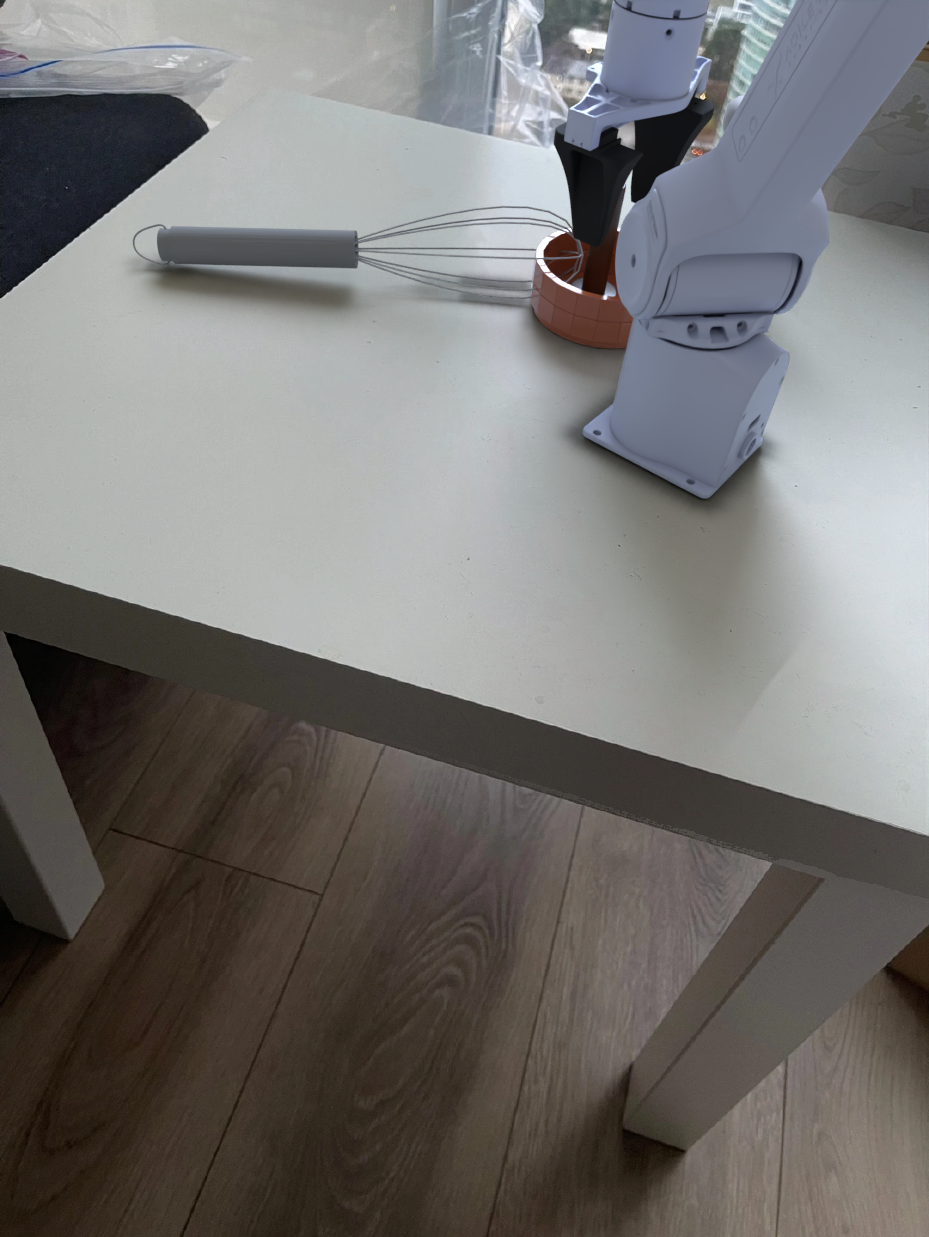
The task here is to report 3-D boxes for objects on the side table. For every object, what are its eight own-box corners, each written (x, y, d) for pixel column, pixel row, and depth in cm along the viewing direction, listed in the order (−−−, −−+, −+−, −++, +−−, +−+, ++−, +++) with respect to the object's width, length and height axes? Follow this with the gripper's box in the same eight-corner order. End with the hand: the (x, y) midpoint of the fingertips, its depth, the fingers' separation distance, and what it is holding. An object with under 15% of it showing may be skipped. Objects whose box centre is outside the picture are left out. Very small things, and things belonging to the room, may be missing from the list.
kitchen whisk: (145, 239, 74) (130, 157, 70) (573, 278, 76) (587, 200, 71) (124, 280, 70) (107, 196, 66) (577, 320, 72) (592, 240, 67)
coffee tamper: (615, 314, 71) (640, 198, 65) (568, 309, 71) (588, 193, 65) (614, 289, 74) (637, 175, 67) (567, 284, 74) (587, 170, 67)
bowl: (695, 310, 74) (708, 262, 71) (621, 368, 68) (632, 319, 65) (580, 259, 78) (588, 211, 75) (501, 310, 72) (506, 260, 69)
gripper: (664, -36, 63) (623, 172, 73) (536, 11, 55) (511, 237, 65) (759, -7, 60) (704, 204, 70) (641, 46, 52) (597, 275, 62)
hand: (617, 222), depth 67 cm, fingers open, 7 cm apart
